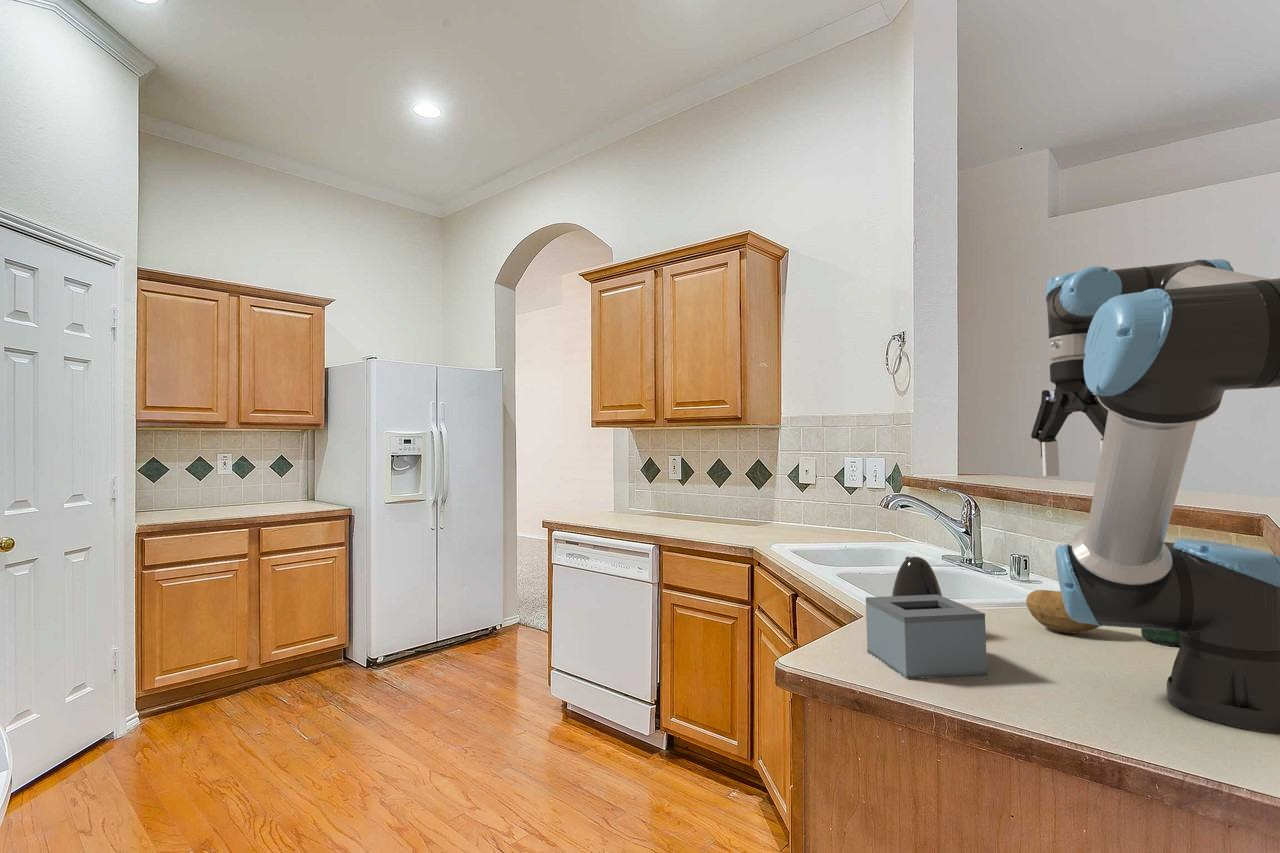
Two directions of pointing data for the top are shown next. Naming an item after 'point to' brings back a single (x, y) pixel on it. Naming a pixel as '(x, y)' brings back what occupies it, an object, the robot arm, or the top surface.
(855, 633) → the top surface
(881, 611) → the box
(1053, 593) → the potato
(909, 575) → the black dome cover
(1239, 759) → the top surface
